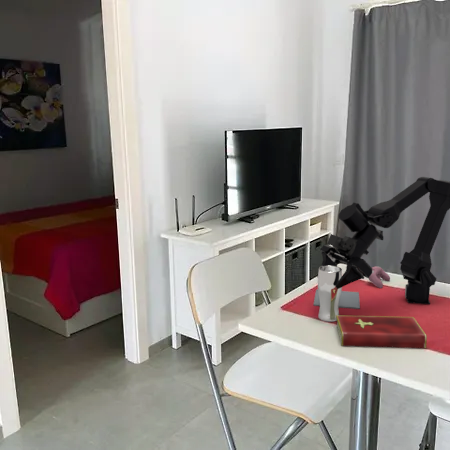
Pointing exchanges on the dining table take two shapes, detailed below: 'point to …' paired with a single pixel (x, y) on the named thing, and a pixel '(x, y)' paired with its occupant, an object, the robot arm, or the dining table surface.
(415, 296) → the robot arm
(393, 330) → the hardcover book
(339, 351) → the dining table surface
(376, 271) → the video game controller
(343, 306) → the coaster
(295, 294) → the dining table surface
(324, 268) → the beer glass
